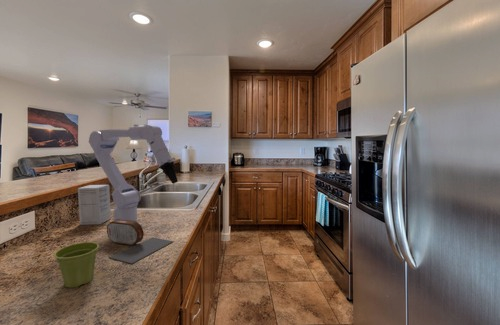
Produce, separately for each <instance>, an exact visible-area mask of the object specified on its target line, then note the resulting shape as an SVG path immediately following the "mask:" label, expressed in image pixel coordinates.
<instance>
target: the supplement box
mask: <svg viewBox="0 0 500 325" xmlns="http://www.w3.org/2000/svg"><path fill="white" fill-rule="evenodd" d="M110 192H111V191H110V185H109V184H89V185H85V186H82V187H78V188H77V197H78V198H77V199H78V212H79V213H78V216H79V226H80V225H81V226H83V225H86V226H87V225H88V226H89V225H101V224H103V223H105V222H107V221H109V220H111V219H112V212H111V197H110V196H111V195H110Z"/></svg>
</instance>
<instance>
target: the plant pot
mask: <svg viewBox="0 0 500 325" xmlns="http://www.w3.org/2000/svg"><path fill="white" fill-rule="evenodd" d="M99 247H100V244H99V243H98V242H95V241H94V242H93V241H86V242H85V241H84V242H77V243H73V244H70V245H67V246H64V247H61V248H60V249H58V250H56V251H55V253H54V254H53V257H54V258H55V259H56V261H57V263H58V264H59V268H60V271H61V275H62V279H63V284H64V286H65V287H67V288H72V289H73V288H78V287H80V286H82V285H86V284H88V283H90V282H91V281H92V280H93V279H94V275H95V274H94V272H95V263H96V255H97V252H98V249H99Z"/></svg>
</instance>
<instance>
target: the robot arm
mask: <svg viewBox="0 0 500 325" xmlns="http://www.w3.org/2000/svg"><path fill="white" fill-rule="evenodd" d="M162 135H163V131H162V129H161V127H160V126H158V125H152V124H144V125H139V124H133V125H132V126H130V127H128V129H127V128H126V129H123V128H122V129H120V128H119V129H118V128H117V129H113V128H112V129H102V130H101V129H100V130H98V131H97V130H94V131H92V132H91V133H90V134H89V137H88V143H89V144H90V147H91V148H92V150H93V152H94V153H93V154H94V155H95V158H96V160H97V162H98V163H99V165H100V168H101V169H102V170H103V172H104V174H105V175H106V177H107V179H108V181H109V182H110V184H111V186H112V188H113V191H112V192H111V197H112V199H113V200H112V201H113V204H114V206H116V207H115V208H114V209H113V213H112V214H113V216H112V217H113V221H114V220H116V219H122V220H131V221H136V222H138V205H139V202H140V201H141V193H140V191H139V190H137V189H136V188H135V186H133V185H132V184H129V183H127V181H126V178H124V176H123V174H122V172H121V171H120V169H119V167H118V165H117V164H116V162H115V160H114V159H113V156H112V155H111V153H113V151H114V149H115V148H116V146H117V144H118V142H119V141H120V138H130V139H131V140H132V141H139V140H143V141H144V140H145V141H146V142H147V143H148V145H149V147H150V149H151V152H152V154H153V155H154V157H155V160H156V163H157V164H158V167H159V168H160V170H161V171H162V173H163V174H165V175H166V177H167V178H168V179H169V181H170V182H171V183H172V185H173V184H174V185H175V184H176V183H178V178H177V173H176V165H175V161H176V157H174V156H173V157H172V156H171V154H170V152H169V150H168V147H167V145H166V142H165V141H164V139H163V136H162ZM138 223H139V224H140V225H141V226H142V225H143V223H141V222H138Z"/></svg>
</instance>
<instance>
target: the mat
mask: <svg viewBox="0 0 500 325" xmlns="http://www.w3.org/2000/svg"><path fill="white" fill-rule="evenodd" d="M172 243H174V241H173V240H167V239H164V238H163V239H162V238H158V237H152V236H151V237H150V238H148V239H146V240H144V241H143V240H142V241H140V242H139V243H137V244H135V245H131V247H130V246H129V247H127V248H126V249H124V250H121V251H120V252H118V253H115V254H113V255H111V256H108V259H111V260H115V261H118V262H123V263H126V264H130V265H133V264H135V263H137V262H139V261H141V260H142V259H145V258H146V257H148V256H150V255H152V254H154V253H156V252H158V251H160V250H161V249H163V248H165V247H167V246H168V245H170V244H172Z"/></svg>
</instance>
